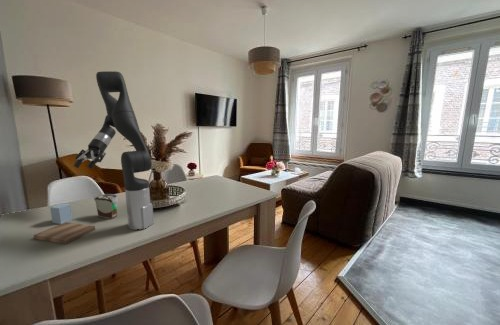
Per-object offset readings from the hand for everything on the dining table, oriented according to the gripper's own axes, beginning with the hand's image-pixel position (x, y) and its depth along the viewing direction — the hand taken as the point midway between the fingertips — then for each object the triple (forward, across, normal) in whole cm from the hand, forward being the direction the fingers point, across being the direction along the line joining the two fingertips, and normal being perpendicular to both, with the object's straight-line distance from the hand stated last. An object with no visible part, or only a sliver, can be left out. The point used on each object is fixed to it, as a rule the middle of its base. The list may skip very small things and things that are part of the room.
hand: (82, 167), depth 110 cm
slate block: (+25, 0, +7) cm, 26 cm away
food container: (+17, +16, +15) cm, 28 cm away
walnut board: (+31, +14, +1) cm, 34 cm away
